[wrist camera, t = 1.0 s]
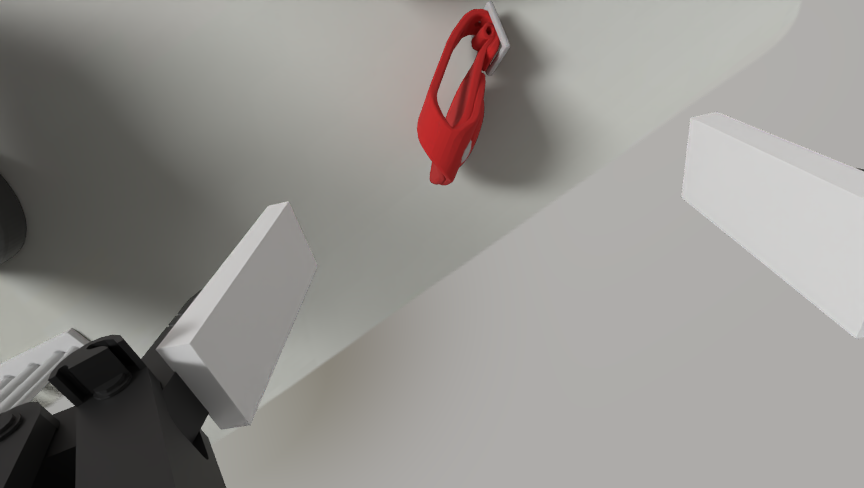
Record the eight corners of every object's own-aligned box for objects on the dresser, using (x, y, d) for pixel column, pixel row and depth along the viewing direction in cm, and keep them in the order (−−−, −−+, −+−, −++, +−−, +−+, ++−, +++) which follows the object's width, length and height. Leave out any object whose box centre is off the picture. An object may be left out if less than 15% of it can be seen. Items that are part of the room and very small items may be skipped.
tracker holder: (451, 166, 34) (458, 222, 26) (402, 149, 34) (392, 200, 25) (514, 12, 28) (550, 20, 20) (456, -13, 28) (468, -17, 19)
